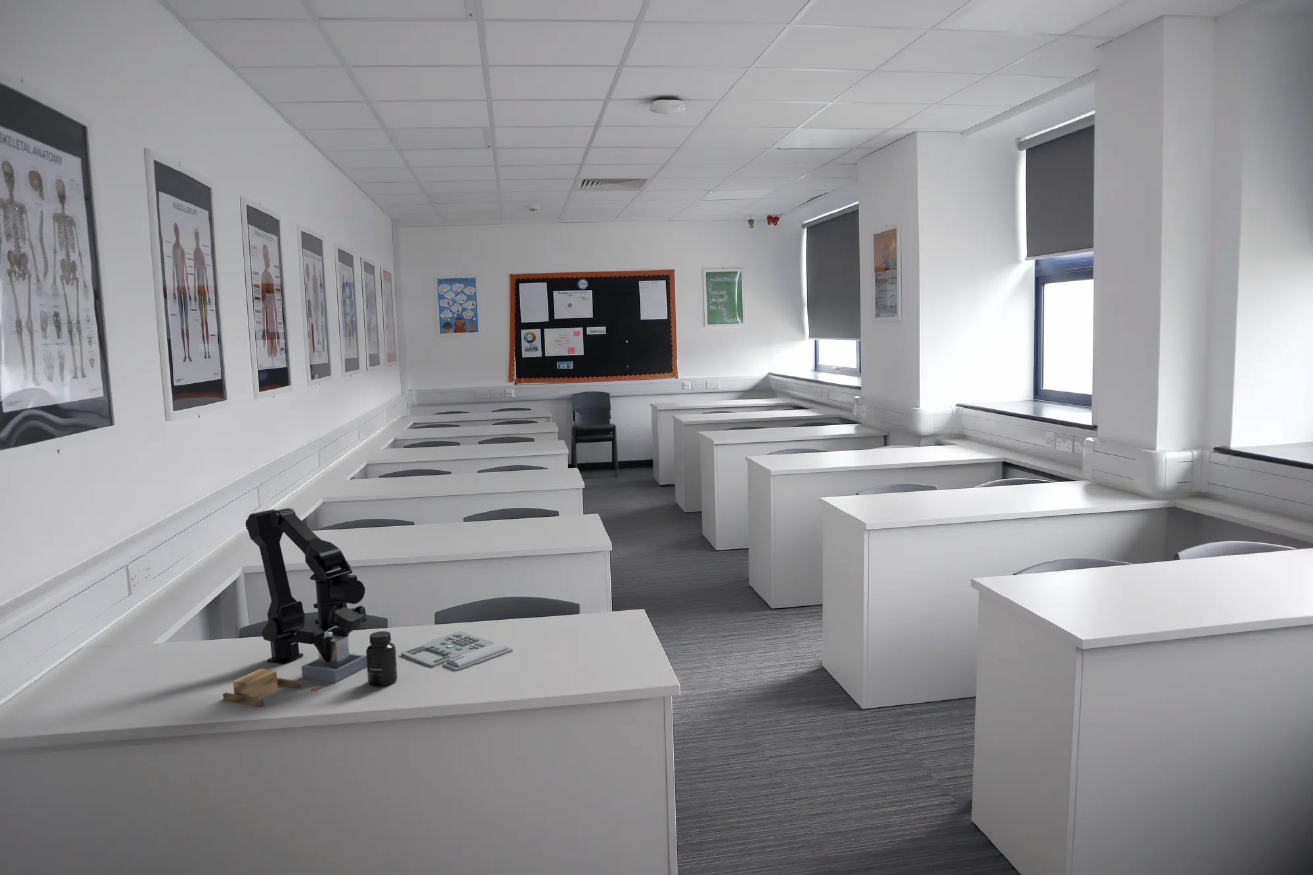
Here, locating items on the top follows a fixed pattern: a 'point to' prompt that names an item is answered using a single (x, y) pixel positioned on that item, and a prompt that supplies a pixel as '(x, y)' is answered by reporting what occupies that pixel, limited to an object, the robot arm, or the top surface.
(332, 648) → the block
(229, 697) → the bar
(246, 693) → the block
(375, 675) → the supplement bottle
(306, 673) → the tray
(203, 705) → the top surface
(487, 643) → the office telephone
